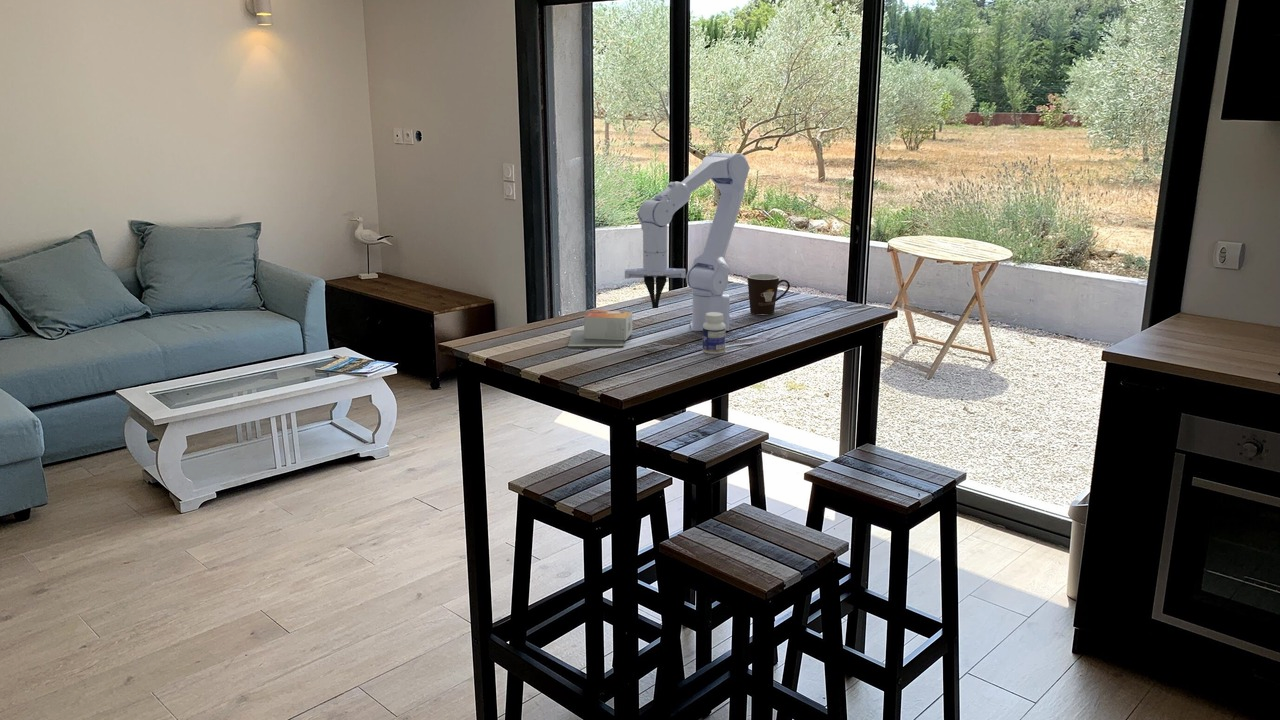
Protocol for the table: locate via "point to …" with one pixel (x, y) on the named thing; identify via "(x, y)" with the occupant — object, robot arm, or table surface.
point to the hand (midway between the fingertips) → (655, 307)
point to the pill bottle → (714, 333)
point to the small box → (608, 325)
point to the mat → (591, 341)
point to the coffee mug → (764, 292)
